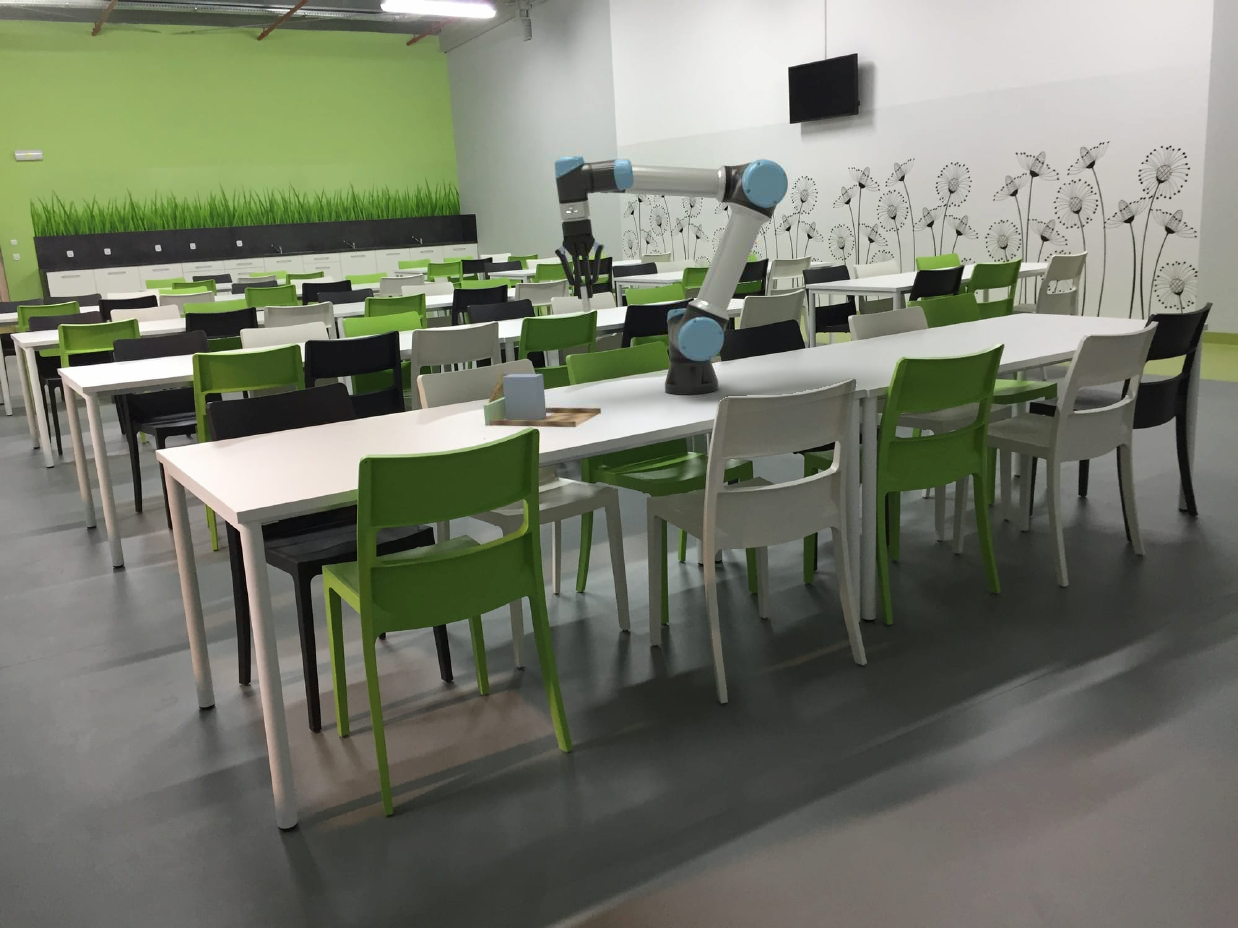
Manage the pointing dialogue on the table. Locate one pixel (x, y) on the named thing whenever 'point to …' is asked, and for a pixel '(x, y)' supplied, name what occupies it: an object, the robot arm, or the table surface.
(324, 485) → the table surface
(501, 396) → the rock
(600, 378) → the table surface
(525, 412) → the block
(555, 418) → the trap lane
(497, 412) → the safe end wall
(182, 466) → the table surface
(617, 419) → the table surface
